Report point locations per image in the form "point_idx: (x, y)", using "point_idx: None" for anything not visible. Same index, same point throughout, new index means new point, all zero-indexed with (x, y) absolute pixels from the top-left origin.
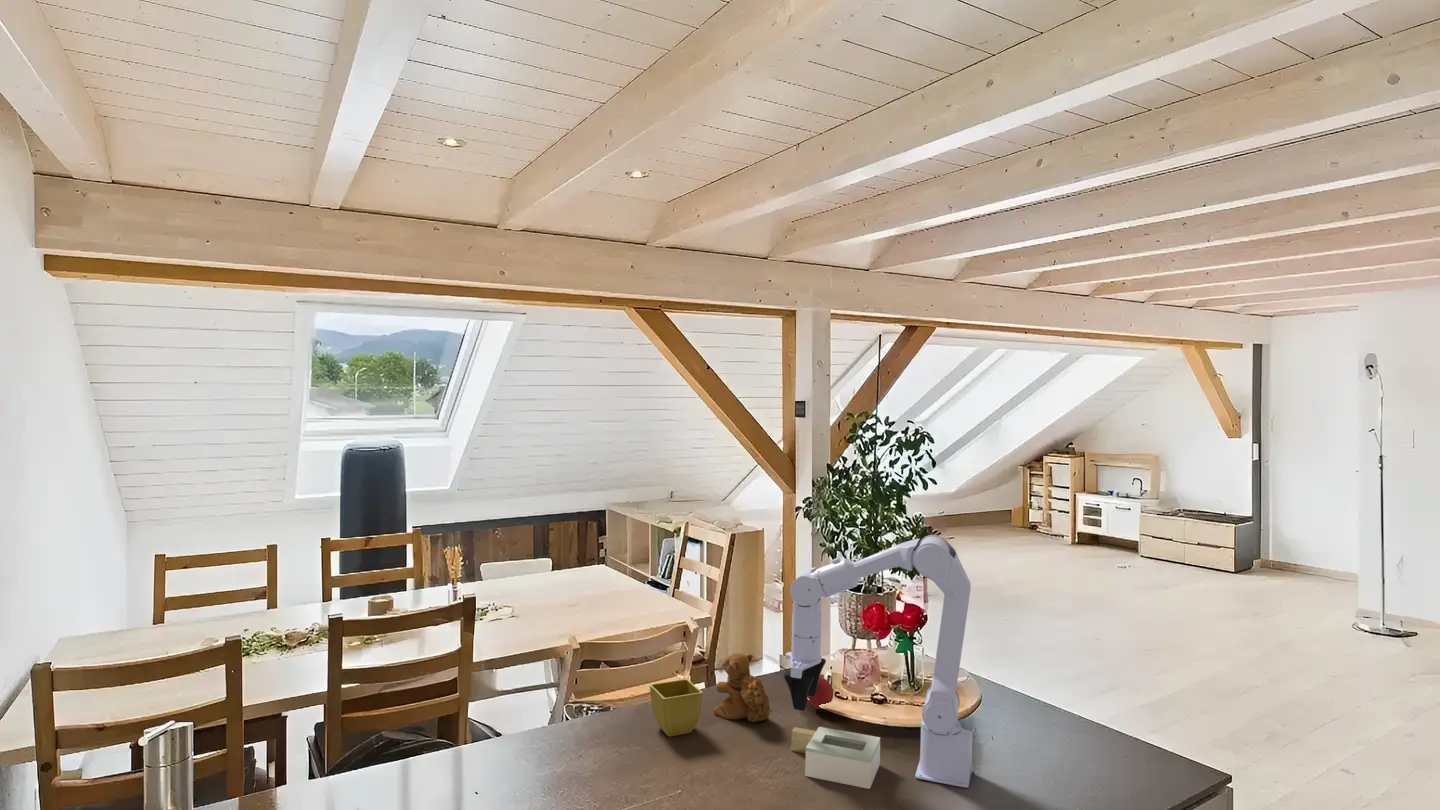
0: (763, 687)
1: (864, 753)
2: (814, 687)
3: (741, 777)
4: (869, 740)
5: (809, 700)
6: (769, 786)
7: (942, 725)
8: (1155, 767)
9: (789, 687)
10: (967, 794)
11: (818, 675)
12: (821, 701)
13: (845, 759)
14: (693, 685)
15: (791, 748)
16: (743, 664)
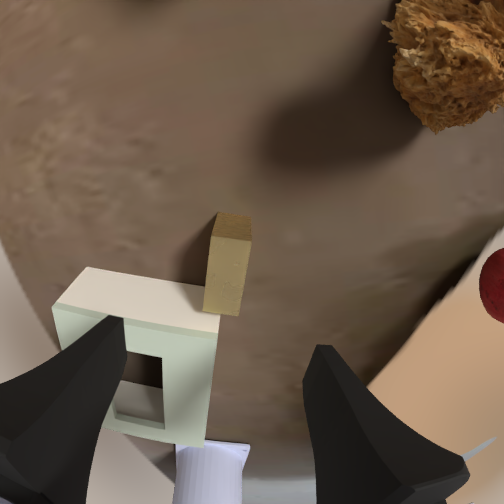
0: (486, 103)
1: (105, 419)
2: (309, 417)
3: (28, 114)
4: (176, 434)
5: (499, 251)
6: (17, 193)
7: None
8: None
9: (18, 378)
10: (163, 465)
11: (316, 483)
12: (482, 289)
13: None
14: None
15: (217, 215)
16: None
